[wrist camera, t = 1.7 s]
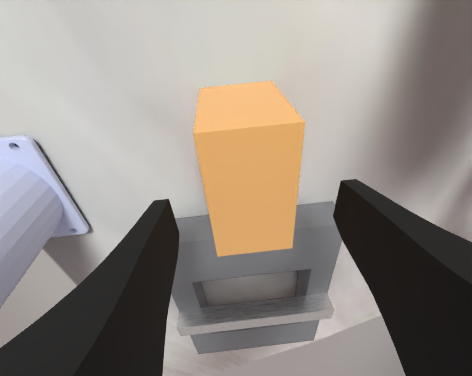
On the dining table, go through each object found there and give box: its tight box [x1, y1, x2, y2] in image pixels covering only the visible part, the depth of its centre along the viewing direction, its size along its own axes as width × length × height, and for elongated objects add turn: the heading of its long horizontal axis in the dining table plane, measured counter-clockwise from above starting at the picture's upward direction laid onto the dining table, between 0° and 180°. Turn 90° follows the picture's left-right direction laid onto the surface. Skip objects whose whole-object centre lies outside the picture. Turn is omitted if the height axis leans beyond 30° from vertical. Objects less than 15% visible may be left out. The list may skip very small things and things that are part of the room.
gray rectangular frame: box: [171, 202, 342, 354], centre depth 24 cm, size 14×20×2 cm
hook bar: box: [177, 293, 334, 336], centre depth 22 cm, size 14×2×2 cm, turn 95°
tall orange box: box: [193, 81, 305, 257], centre depth 13 cm, size 4×7×6 cm, turn 5°
